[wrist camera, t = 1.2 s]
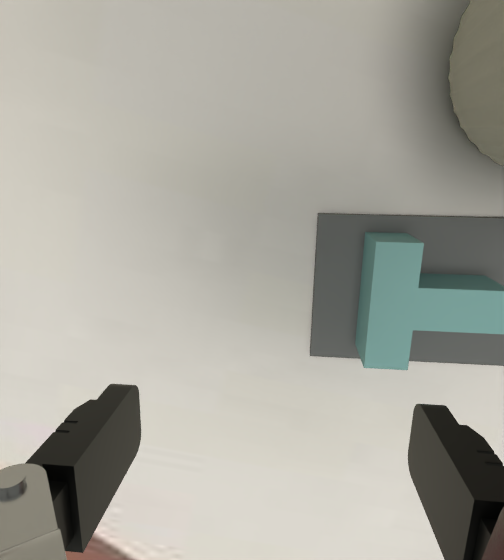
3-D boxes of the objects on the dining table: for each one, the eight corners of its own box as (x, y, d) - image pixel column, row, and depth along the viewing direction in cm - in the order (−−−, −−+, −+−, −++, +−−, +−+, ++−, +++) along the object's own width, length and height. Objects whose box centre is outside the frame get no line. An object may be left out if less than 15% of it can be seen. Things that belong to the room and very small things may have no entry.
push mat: (318, 213, 31) (318, 214, 30) (725, 222, 28) (731, 223, 28) (310, 353, 34) (310, 356, 33) (676, 372, 32) (681, 374, 31)
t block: (365, 232, 30) (376, 241, 26) (492, 235, 30) (522, 245, 26) (355, 344, 33) (364, 367, 29) (472, 349, 32) (497, 374, 28)
